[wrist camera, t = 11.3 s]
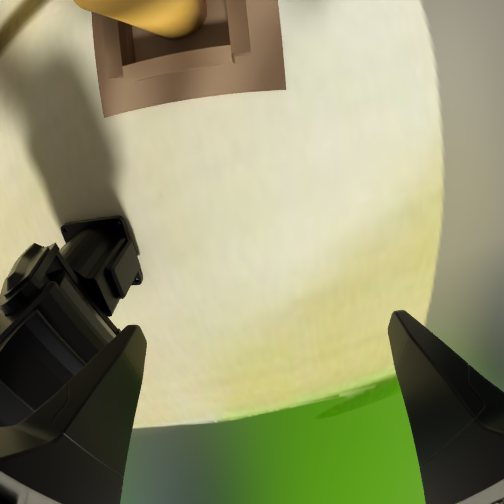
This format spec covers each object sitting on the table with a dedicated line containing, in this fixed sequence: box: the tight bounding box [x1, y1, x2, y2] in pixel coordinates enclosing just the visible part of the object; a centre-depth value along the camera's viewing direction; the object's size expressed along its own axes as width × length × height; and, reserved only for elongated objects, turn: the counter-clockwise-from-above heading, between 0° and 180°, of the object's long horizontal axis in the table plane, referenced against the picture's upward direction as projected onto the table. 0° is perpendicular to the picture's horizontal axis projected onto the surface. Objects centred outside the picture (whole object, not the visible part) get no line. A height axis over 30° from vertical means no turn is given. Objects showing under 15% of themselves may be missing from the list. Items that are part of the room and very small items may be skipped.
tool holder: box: [92, 0, 286, 118], centre depth 13 cm, size 12×12×3 cm
